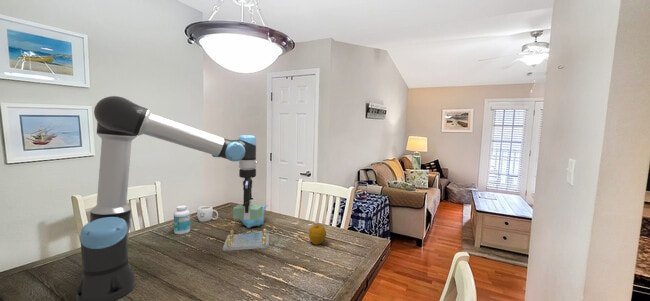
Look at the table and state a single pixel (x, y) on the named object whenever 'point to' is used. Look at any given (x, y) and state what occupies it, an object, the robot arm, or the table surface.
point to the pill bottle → (181, 220)
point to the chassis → (246, 241)
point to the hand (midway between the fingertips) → (247, 216)
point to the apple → (317, 234)
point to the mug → (205, 213)
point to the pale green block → (255, 212)
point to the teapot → (254, 222)
